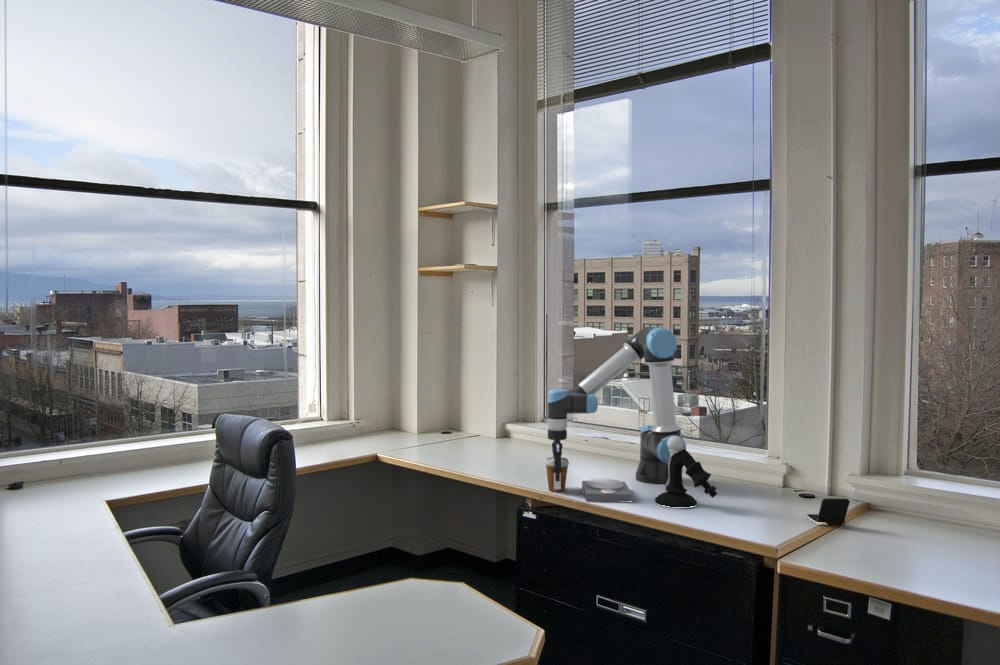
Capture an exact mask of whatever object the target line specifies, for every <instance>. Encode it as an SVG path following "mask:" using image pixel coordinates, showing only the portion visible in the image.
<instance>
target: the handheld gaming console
mask: <svg viewBox="0 0 1000 665" xmlns="http://www.w3.org/2000/svg"><path fill="white" fill-rule="evenodd" d="M850 502H851V501H850V499H849V498H825V497H824V498H823V499H822V500H821V503H820V508H819V511H818V513H816V514H815V513H811V514H810V513H807V516H809V517H810V518H812V519H813V520H815V521H817V522H826V523H827V524H828V525H827V526H826V527H842V526H846V524H845V522H846V518H847V513H848V510H849V506H850ZM807 516H806V517H807Z"/></svg>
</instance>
